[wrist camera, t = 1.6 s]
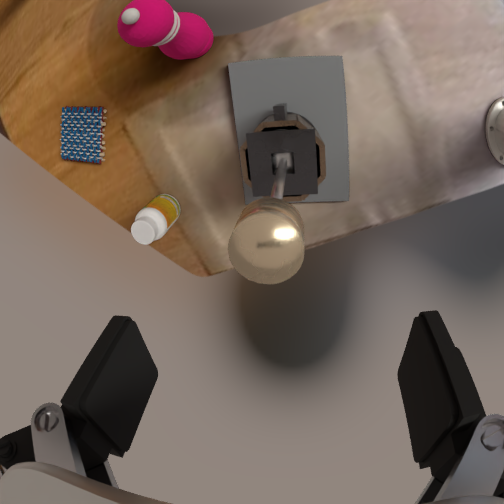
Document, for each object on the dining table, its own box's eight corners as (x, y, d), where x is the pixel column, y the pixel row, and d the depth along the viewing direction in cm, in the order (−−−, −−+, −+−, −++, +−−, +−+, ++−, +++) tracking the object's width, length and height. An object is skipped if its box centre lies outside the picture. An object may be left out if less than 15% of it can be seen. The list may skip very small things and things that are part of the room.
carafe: (317, 101, 38) (325, 104, 28) (321, 175, 44) (329, 204, 33) (247, 105, 40) (230, 111, 30) (256, 178, 45) (242, 208, 35)
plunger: (313, 127, 31) (339, 179, 13) (317, 189, 34) (335, 307, 16) (247, 131, 32) (183, 188, 14) (254, 192, 35) (209, 308, 18)
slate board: (341, 56, 35) (342, 55, 34) (347, 198, 46) (348, 200, 45) (229, 64, 38) (227, 63, 37) (246, 202, 49) (245, 204, 48)
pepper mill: (193, 70, 39) (125, 63, 22) (161, 44, 37) (83, 28, 20) (226, 37, 36) (177, 3, 19) (193, 10, 34) (129, -29, 17)
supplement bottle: (158, 187, 49) (132, 209, 41) (185, 202, 50) (163, 227, 42) (148, 213, 52) (122, 238, 44) (174, 227, 53) (152, 255, 44)
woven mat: (65, 158, 49) (58, 161, 47) (66, 105, 44) (59, 107, 42) (106, 163, 49) (100, 166, 47) (109, 105, 43) (103, 107, 42)
